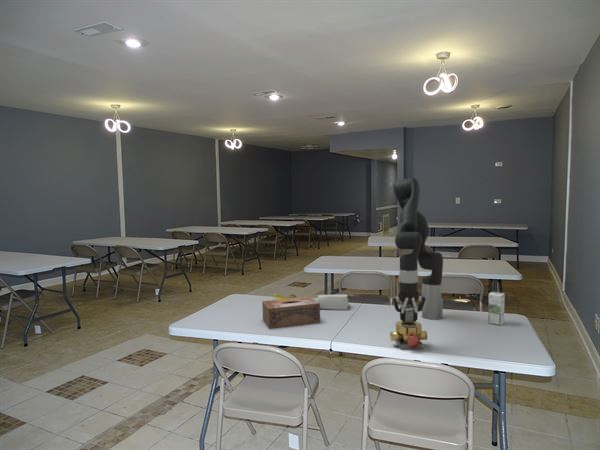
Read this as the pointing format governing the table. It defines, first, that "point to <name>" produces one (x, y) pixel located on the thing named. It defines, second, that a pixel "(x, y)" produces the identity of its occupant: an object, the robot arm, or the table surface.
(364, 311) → the table surface
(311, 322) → the tissue box cover
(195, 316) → the table surface
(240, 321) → the table surface
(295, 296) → the sprinkler
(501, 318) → the syrup box
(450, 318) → the table surface
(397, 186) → the robot arm
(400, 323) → the valve
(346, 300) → the white flat block
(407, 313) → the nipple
